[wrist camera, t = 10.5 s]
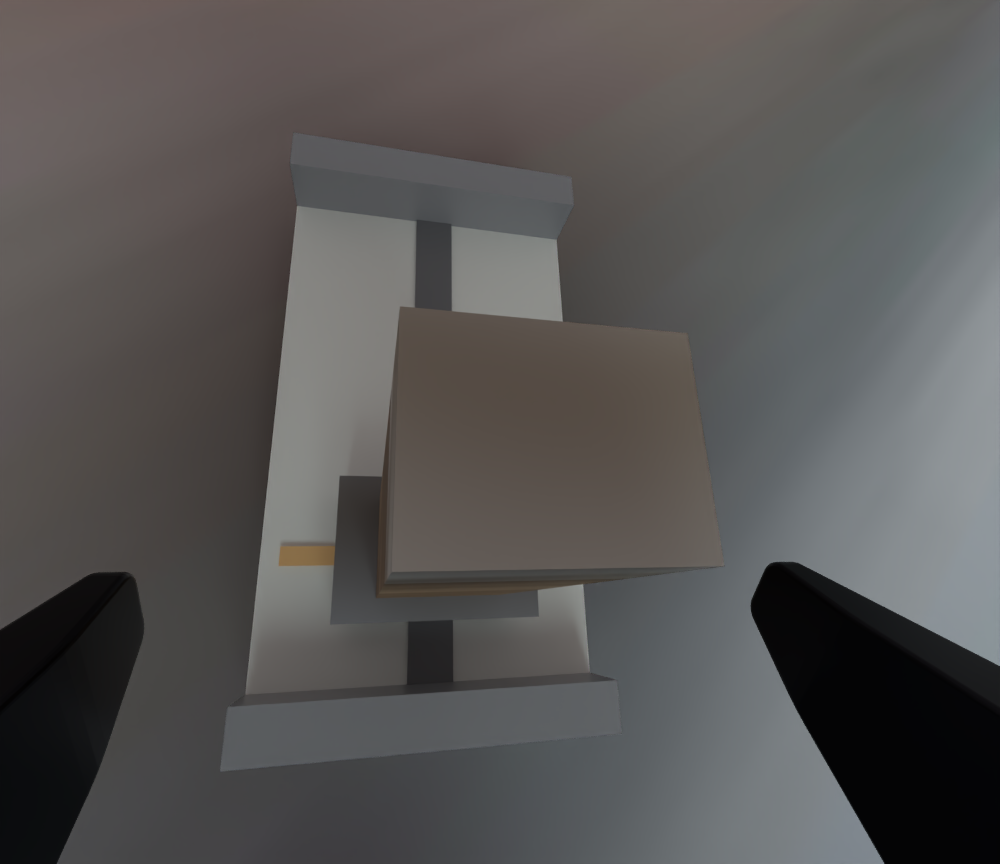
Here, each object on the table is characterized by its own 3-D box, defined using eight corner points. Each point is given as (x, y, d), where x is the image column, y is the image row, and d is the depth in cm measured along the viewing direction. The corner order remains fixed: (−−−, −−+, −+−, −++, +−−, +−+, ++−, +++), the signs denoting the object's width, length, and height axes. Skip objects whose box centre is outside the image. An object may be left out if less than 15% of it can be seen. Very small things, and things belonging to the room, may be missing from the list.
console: (568, 708, 17) (622, 734, 13) (255, 732, 15) (220, 771, 11) (538, 246, 22) (571, 176, 18) (306, 217, 20) (293, 132, 16)
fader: (522, 616, 15) (828, 625, 5) (333, 623, 14) (247, 653, 4) (517, 491, 16) (759, 297, 6) (342, 488, 15) (291, 243, 5)
